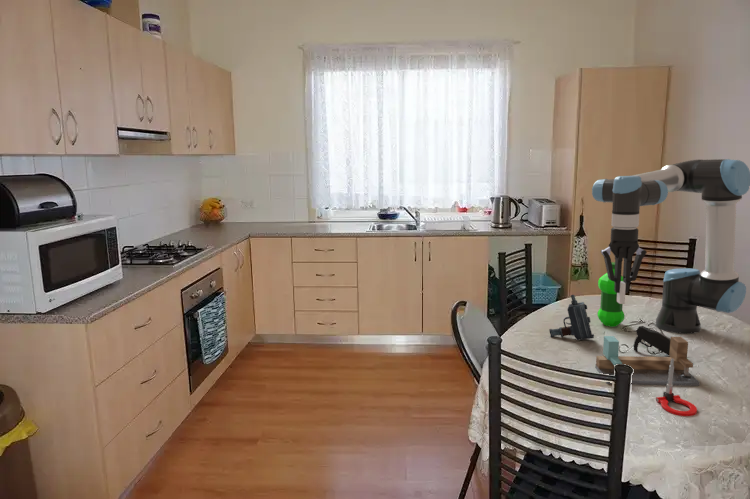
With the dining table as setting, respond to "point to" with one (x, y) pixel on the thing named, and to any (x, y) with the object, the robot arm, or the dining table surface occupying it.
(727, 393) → the dining table surface
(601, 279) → the plastic bottle
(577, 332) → the gun
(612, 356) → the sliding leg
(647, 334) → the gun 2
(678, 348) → the wooden clamp
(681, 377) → the bolt plate
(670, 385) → the tow hook
